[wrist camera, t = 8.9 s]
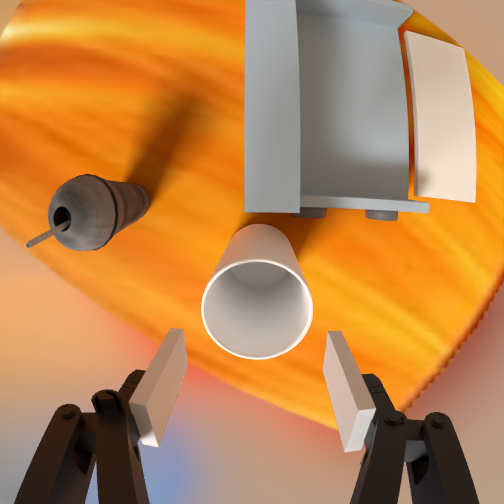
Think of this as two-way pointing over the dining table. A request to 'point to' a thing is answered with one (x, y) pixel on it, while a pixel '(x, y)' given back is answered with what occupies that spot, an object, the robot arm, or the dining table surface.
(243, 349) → the cup
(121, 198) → the beverage cup
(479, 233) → the dining table surface
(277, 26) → the truck bed
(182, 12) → the dining table surface
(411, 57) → the tailgate
